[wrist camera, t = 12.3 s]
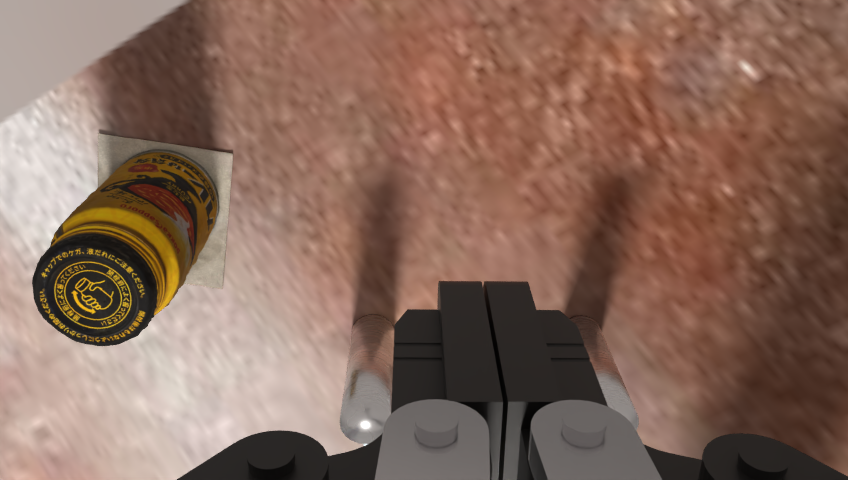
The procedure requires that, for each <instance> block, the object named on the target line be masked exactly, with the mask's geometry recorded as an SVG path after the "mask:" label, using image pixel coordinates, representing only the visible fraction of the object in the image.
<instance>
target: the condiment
mask: <svg viewBox="0 0 848 480" xmlns="http://www.w3.org/2000/svg"><path fill="white" fill-rule="evenodd" d="M232 162H233V154H230V153H225V152H218V151H212V150H206V149H200V148H194V147H188V146H181V145H176V144H169V143H161V142H155V141H148V140H142V139H133V138H124V137H118V136H112V135H105V134H99V133H98V188H97V190H96V191H94V192H93V193H91V194H90V195H89V197H88V198H87V199H86V200H85V201H84V202H83V203H82V204H81V205H80V206H78V207H77V208H76V209H75V211H73V212H72V214H71V215H70V216H69V217H68V218H67V219H66V220H65V221H64V223H62V225H61V226H60V227H59V228H58V230H57V231H56V232H55V234H54V237H53V239H52V242H51V246H50V248H49V249H48V250H47V251H46V252H45V254H44V255H43V256H42V257H41V258H40V260H39V262H38V264H37V267H36V270H35V273H34V275H33V280H32V284H33V293H34V300H35V303H36V305H37V308H38V311H39V312H40V313H41V315H42V316H43V318H44V319H45V320H46V321H47V322H48V323H49V324H51V325H52V326H53V327H54V328H55V329H56V330H58V331H59V332H61V333H62V334H64V335H66V336H67V337H69V338H70V339H72V340H74V341H76V342H80V343H84V344H90V345H96V346H110V345H117V344H120V343H123V342H125V341H127V340H129V339H131V338H134V337H136V336H138V335H139V334H140V332H141V331H142V330H143V329H145V328H146V327H147V326H148V323H149V322H150V321H151V319H152V318H153V317H154V315H156V314H157V313H158V312H160V311H161V310H162V309H163V308H164V307H166V306H168V305H169V303H170V301H171V300H172V299H173V298H174V296H175V294H176V293H177V292H178V289H179V288H180V287H181V286H182V285H183V284H190V285H200V286H204V287H210V288H218V289H223V274H224V261H225V249H226V237H227V226H228V214H229V201H230V189H231V175H232Z"/></svg>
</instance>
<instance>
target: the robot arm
mask: <svg viewBox="0 0 848 480" xmlns="http://www.w3.org/2000/svg"><path fill="white" fill-rule="evenodd" d="M177 480H848V476H846V475H844V474H842V473H840V472H838V471H836V470H834V469H832V468H830V467H829V466H827V465H825V464H823V463H821V462H819V461H817V460H815V459H813V458H811V457H810V456H808V455H806V454H804V453H802V452H800V451H798V450H796V449H794V448H792V447H791V446H788V445H786V444H784V443H782V442H780V441H777V440H774V439H771V438H768V437H764V436H759V435H753V434H743V433H741V434H728V435H724V436H720V437H718V438H716V439H714V440H712V441H711V442H710V443H708V444H707V446H706V447H705V449H704V452H703V457H702V460H699V459H694V458H690V457H685V456H680V455H676V454H671V453H667V452H663V451H659V450H656V449H654V448H651V447H648V446H646V445H644V444H643V443H642V441H641V439H640V437H639V435H638V434H637V432H636V430H635V428H634V426H633V425H632V424H631V422H630V421H629V420H628V419H627V418H626V417H625V416H623V415H622V414H621V413H619V412H617V411H616V410H614V409H612V408H610V407H608V405H607V402H606V400H605V397H604V394H603V392H602V389H601V386H600V384H599V381H598V378H597V376H596V373H595V371H594V368H593V365H592V363H591V362H590V357H589V355H588V352H587V350H586V347H584V342H583V339H582V336H581V334H580V331H579V328H578V326H577V325H576V324H575V323H574V322H572V321H571V320H570V319H569V318H568V317H566V316H565V315H564V314H563V313H562V312H561V311H559V310H536V307H535V304H534V301H533V297H532V294H531V291H530V287H529V284H528V282H499V281H485V282H484V285H483V286H482V282H480V281H439V283H438V310H407V311H406V312H405V313H404V314H403V316H402V317H401V318H400V319H399V320H398V321H397V323H396V324H395V326H394V351H393V377H392V402H391V415H390V416H389V417H388V419H387V420H386V422H385V425H384V429H383V433H382V434H381V435H380V436H379V437H378V438H377V439H375V440H374V441H372V442H371V443H369V444H367V445H365V446H363V447H361V448H358V449H356V450H353V451H349V452H345V453H341V454H336V455H332V456H327V452H326V451H325V449H324V448H323V446H322V445H321V444H320V443H319V442H318V441H316V440H315V439H313V438H311V437H309V436H307V435H305V434H301V433H297V432H292V431H267V432H262V433H257V434H254V435H250V436H248V437H246V438H243V439H241V440H239V441H237V442H236V443H234V444H232V445H231V446H229V447H227V448H226V449H224V450H223V451H221V452H220V453H218V454H216V455H215V456H213V457H212V458H210V459H209V460H207V461H205V462H204V463H202V464H201V465H199V466H198V467H196V468H194V469H193V470H191V471H190V472H188V473H186V474H185V475H183V476H182V477H180V478H179V479H177Z"/></svg>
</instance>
